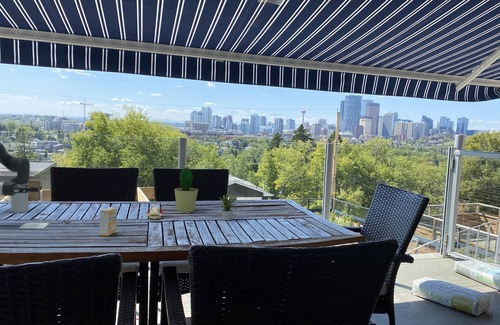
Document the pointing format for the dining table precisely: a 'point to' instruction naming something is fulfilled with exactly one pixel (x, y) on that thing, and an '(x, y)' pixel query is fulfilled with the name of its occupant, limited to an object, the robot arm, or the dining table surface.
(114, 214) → the supplement box
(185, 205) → the potted cactus
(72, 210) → the dining table surface
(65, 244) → the dining table surface
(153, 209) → the cat figure
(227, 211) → the house plant
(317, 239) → the dining table surface
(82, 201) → the dining table surface
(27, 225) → the card
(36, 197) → the walnut block
